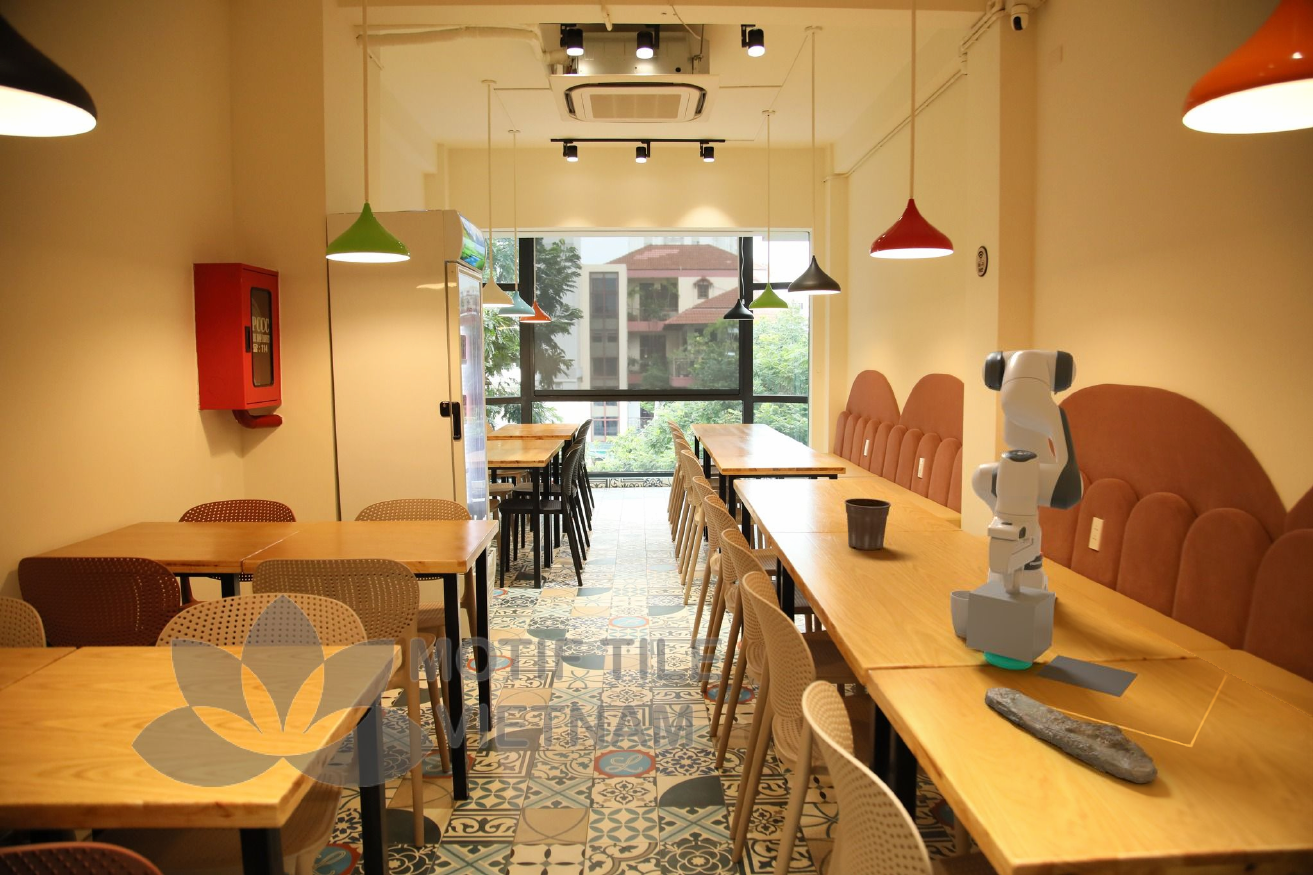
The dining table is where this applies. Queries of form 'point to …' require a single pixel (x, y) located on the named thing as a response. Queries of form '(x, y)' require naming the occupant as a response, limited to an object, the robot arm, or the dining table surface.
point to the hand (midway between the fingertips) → (1012, 586)
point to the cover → (1010, 620)
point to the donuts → (1006, 661)
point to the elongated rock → (1076, 735)
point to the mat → (1088, 675)
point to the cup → (959, 611)
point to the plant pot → (866, 522)
